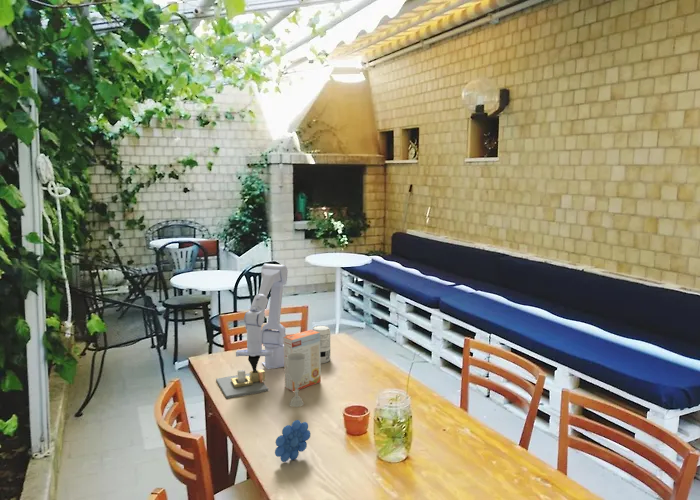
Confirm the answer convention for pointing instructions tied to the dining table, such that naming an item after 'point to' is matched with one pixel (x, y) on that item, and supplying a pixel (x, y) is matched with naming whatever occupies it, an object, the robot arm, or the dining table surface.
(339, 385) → the dining table surface
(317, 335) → the cracker box
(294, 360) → the chalice
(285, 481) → the dining table surface
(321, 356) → the supplement can
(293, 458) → the grapes
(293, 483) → the dining table surface
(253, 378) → the yellow frame with handle
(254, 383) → the post board
